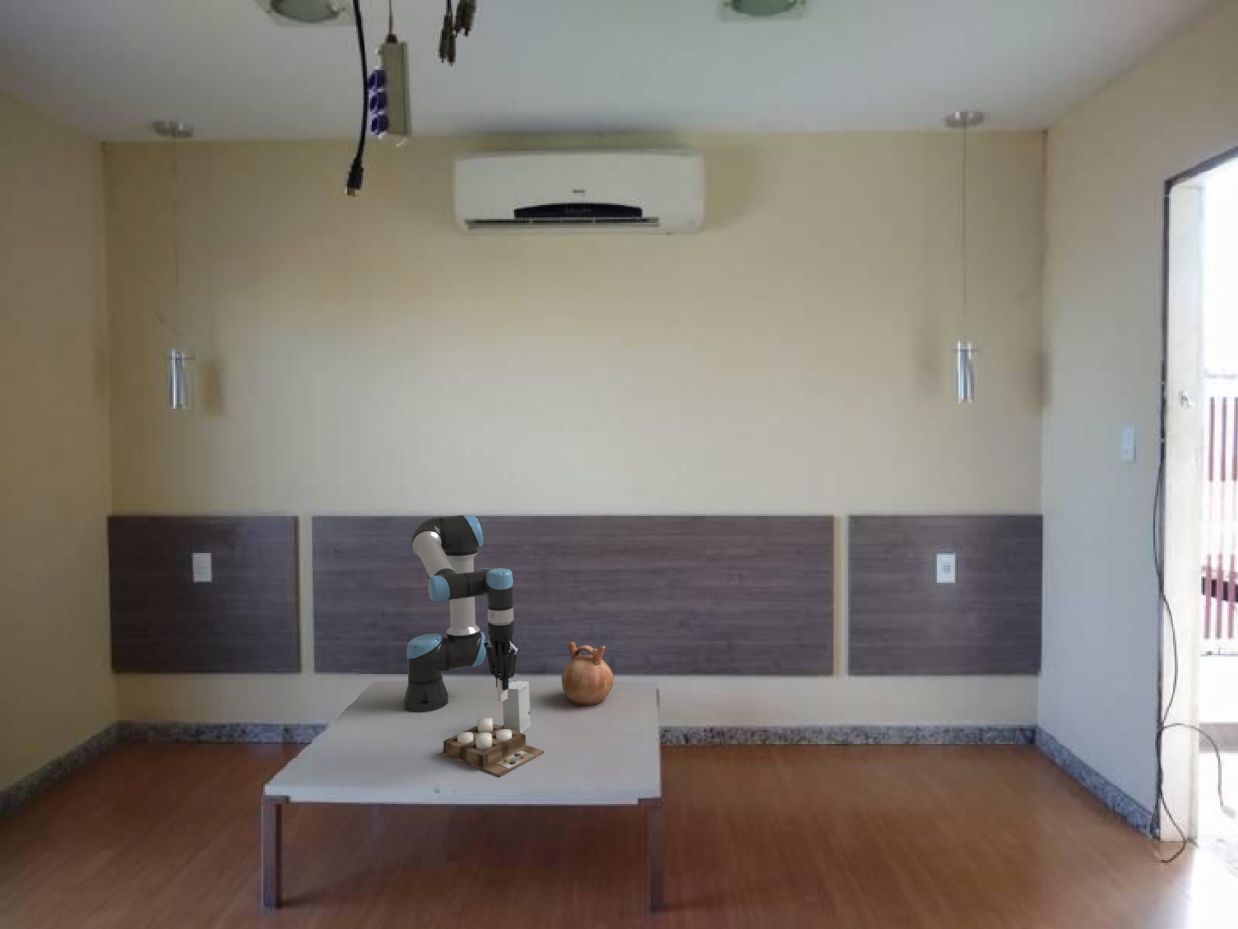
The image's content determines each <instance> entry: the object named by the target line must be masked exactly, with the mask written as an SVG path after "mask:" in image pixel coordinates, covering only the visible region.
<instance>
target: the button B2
mask: <svg viewBox="0 0 1238 929" xmlns="http://www.w3.org/2000/svg"><path fill="white" fill-rule="evenodd" d="M510 738H512V731H511V730H509V729H502V730H499V731H497V732H496V739H498V740H500V741H503V742H504V741H506V740H508V739H510Z"/></svg>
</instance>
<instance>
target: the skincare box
mask: <svg viewBox="0 0 1238 929" xmlns="http://www.w3.org/2000/svg"><path fill="white" fill-rule="evenodd" d="M530 702H531V701H530V682H529V681H527V680H526V681H525V680H513V681H511V682H509V688H508V699H506V700H504V701H502V714H503V715H502V720H503V721H502V722H503V727H504V728H507V729H510V730H513V731H516V732H519V733H522V734H524V733H525V732H526V731H527V730H528V729H529V728H531V707H530V705H531V703H530Z"/></svg>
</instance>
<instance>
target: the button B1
mask: <svg viewBox="0 0 1238 929" xmlns="http://www.w3.org/2000/svg"><path fill="white" fill-rule="evenodd" d="M490 748H492V734H491V733H479V734H477V735H476V749H478V750H480V751H483V752H484V751H486V750H488V749H490Z"/></svg>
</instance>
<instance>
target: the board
mask: <svg viewBox="0 0 1238 929" xmlns="http://www.w3.org/2000/svg"><path fill="white" fill-rule="evenodd" d="M502 729H507V728H504V726H501V725H498V724H495V723H493V732H491V734H492V748H490V749H488V750H486V751H484V752H483V751H480V750H478V749H476V735H477V734H479V733H478V724H477V725H475V726H473V727H471V728H469V729H467V730H465V731H462V732H461V733H463V732H471V733H473V741H471V742H469V743H467V744H465V745H464V744H461V743H459V742H458V741H457V735H458V734H459V733H458V734H455V735H453V736H451V737H448V738H447V739H445V740H443V752H442V753H441V754H442V755H443V756H444V757H448V758H450V759H453V760H455V761H458V762H460V763H463V764H466V765H468V766H470V767H473V768H476V769H479V770H481V771H484V772H486V773H489V774H492V775H494V776H495V777H496V776H497V777H498V778H501V777H502V776H505V775H507V774H508V773H510V772H512V771H514V770H516V769H517V768H519V767H521V766H523V765H524V764H527V763H528V762H530V761H532V760H534V759H536V758H538V757H540V756H541V755H543V754H545V750H542V749H540V748H536V747H534V746H531V745H528V744H527V742H526V741H527V739H526V734H524V733H523V734H522V733H519V732H516V731H513V730H511V731H512V738H510V739H508V740H506V741H504V742H503V741H500V740H498V739H496V732H497V731H499V730H502ZM509 730H510V729H509Z"/></svg>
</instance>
